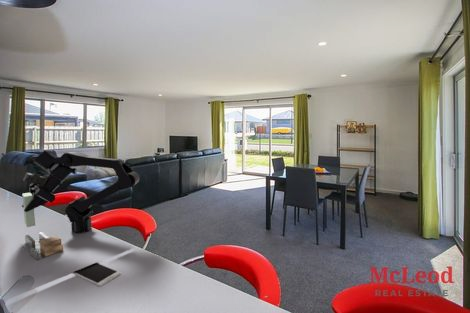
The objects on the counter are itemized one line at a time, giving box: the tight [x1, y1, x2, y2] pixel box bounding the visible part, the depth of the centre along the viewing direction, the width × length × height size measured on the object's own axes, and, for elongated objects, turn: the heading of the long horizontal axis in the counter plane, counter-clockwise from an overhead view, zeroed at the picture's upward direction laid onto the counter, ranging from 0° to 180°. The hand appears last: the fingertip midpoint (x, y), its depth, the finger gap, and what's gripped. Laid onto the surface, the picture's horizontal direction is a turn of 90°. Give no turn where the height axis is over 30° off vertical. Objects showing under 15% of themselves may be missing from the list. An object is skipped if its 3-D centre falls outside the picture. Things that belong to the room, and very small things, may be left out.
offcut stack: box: [40, 235, 64, 256], centre depth 88 cm, size 6×5×4 cm
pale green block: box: [21, 192, 36, 228], centre depth 95 cm, size 2×6×12 cm, turn 46°
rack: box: [20, 231, 64, 261], centre depth 90 cm, size 8×18×4 cm, turn 53°
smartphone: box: [71, 262, 122, 287], centre depth 77 cm, size 7×15×1 cm, turn 63°
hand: (24, 209), depth 94 cm, fingers closed on pale green block, 6 cm apart
